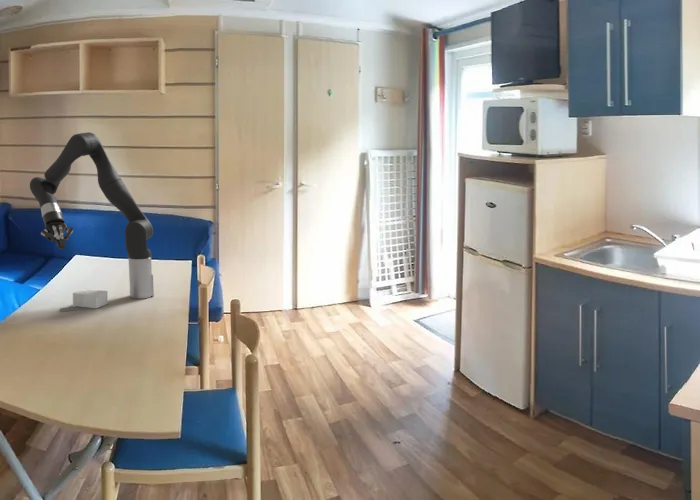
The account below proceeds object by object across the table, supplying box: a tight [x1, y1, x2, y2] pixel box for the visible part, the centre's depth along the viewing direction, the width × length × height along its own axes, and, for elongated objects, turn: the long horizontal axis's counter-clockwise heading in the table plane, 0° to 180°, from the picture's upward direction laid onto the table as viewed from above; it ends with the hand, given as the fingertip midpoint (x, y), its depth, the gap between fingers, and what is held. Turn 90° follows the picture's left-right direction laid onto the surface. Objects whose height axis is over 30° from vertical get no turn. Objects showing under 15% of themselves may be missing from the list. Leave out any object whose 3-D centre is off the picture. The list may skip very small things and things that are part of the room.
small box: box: [72, 288, 108, 309], centre depth 231 cm, size 8×6×10 cm
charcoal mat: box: [60, 306, 92, 313], centre depth 227 cm, size 11×5×1 cm, turn 121°
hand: (62, 248), depth 237 cm, fingers closed
